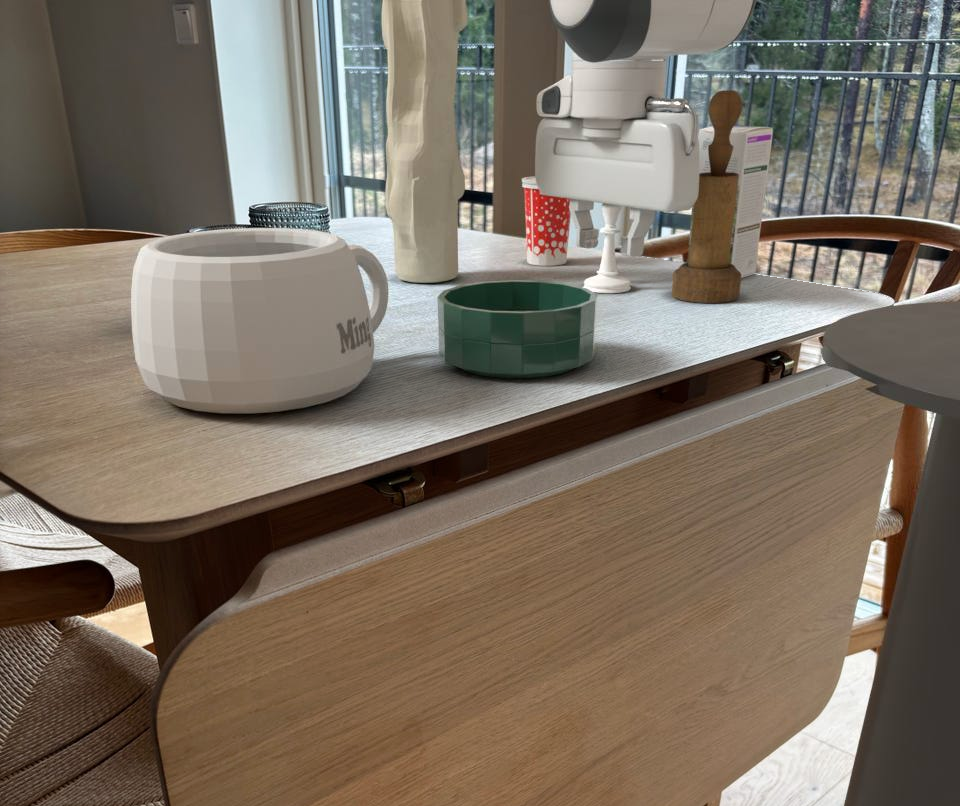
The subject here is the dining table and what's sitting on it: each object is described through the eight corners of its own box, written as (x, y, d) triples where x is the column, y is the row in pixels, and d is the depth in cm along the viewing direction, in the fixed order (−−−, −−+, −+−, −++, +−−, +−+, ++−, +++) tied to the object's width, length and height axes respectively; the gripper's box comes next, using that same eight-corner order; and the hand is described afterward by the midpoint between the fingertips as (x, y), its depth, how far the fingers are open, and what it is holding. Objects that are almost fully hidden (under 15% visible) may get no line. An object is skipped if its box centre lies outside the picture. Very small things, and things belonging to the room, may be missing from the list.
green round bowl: (625, 364, 76) (629, 298, 73) (501, 392, 70) (502, 320, 67) (529, 335, 84) (530, 274, 82) (411, 357, 78) (409, 292, 76)
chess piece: (631, 284, 103) (638, 180, 98) (629, 294, 99) (637, 185, 94) (585, 283, 104) (589, 180, 99) (581, 292, 100) (585, 185, 95)
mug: (240, 441, 61) (217, 273, 56) (96, 392, 70) (65, 244, 65) (466, 369, 75) (464, 230, 70) (321, 337, 84) (309, 211, 79)
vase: (481, 278, 107) (479, -57, 92) (428, 290, 101) (417, -64, 86) (423, 269, 112) (413, -51, 97) (370, 280, 106) (350, -57, 91)
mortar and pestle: (683, 304, 94) (704, 91, 85) (662, 291, 100) (679, 89, 91) (749, 301, 95) (776, 90, 86) (724, 288, 101) (747, 89, 92)
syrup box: (757, 274, 108) (776, 125, 100) (728, 282, 104) (746, 128, 97) (712, 268, 111) (727, 124, 104) (683, 275, 107) (697, 126, 100)
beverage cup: (583, 262, 115) (589, 128, 108) (545, 268, 111) (549, 130, 104) (547, 256, 119) (551, 126, 112) (510, 261, 116) (511, 128, 108)
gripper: (723, 97, 87) (706, 262, 94) (573, 94, 101) (568, 236, 108) (673, 99, 84) (659, 269, 91) (525, 95, 98) (523, 242, 105)
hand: (608, 251), depth 100 cm, fingers open, 5 cm apart
